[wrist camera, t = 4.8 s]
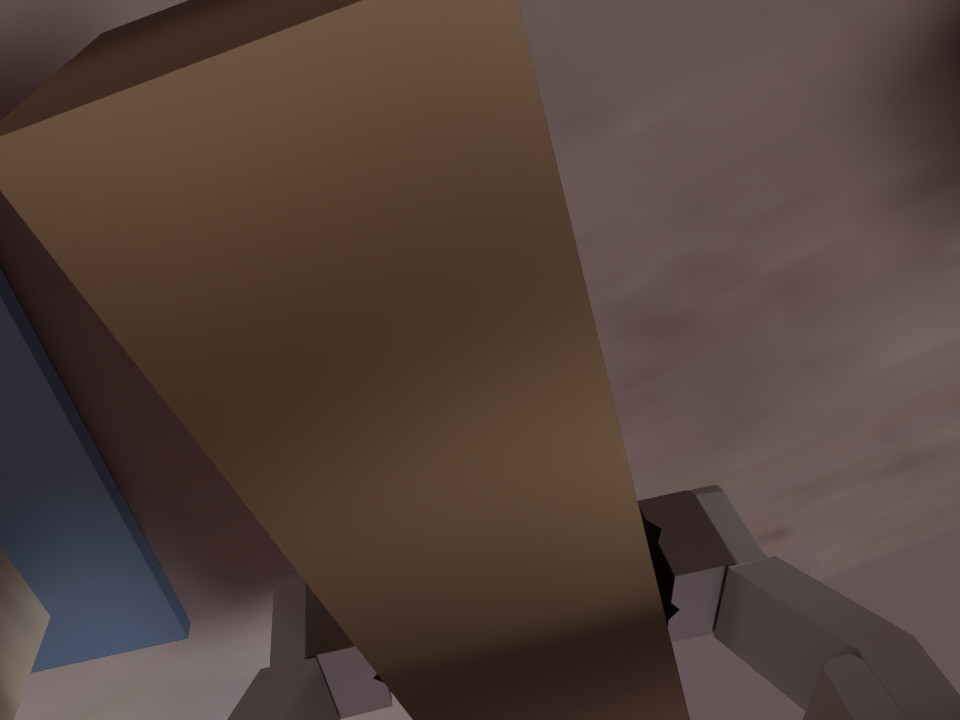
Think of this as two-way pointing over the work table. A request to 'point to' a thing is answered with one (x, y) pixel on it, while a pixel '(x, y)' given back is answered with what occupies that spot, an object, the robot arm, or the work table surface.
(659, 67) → the work table surface
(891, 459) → the work table surface
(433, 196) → the beam
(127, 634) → the board
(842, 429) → the work table surface
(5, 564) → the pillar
